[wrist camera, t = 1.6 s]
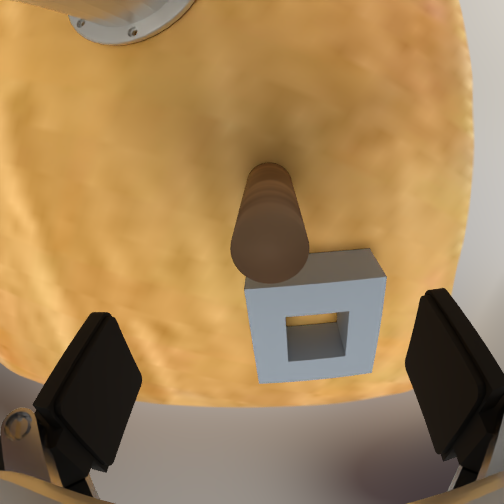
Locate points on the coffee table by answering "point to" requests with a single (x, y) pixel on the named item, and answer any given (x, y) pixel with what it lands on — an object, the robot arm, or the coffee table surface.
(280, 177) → the peg
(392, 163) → the coffee table surface
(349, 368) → the socket block
